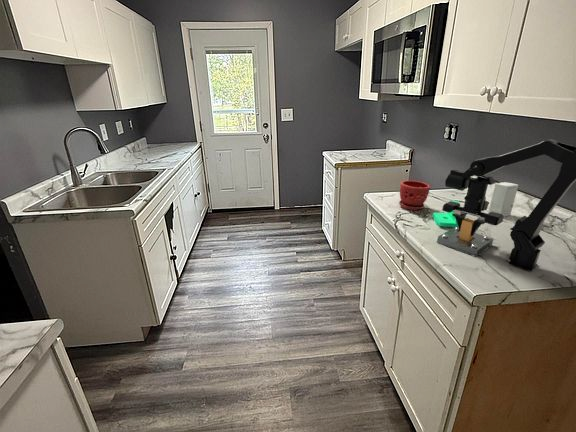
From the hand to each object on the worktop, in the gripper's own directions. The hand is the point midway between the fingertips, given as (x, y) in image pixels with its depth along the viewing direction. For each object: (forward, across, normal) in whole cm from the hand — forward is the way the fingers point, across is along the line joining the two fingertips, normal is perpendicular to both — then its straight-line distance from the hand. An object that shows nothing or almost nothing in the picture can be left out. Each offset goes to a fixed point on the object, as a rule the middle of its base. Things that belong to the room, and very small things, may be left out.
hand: (466, 234), depth 116 cm
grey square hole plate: (+4, 0, 0) cm, 4 cm away
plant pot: (+4, +34, -21) cm, 40 cm away
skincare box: (+4, +3, -43) cm, 43 cm away
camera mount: (+4, +14, -14) cm, 20 cm away
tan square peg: (+2, 0, 0) cm, 3 cm away
